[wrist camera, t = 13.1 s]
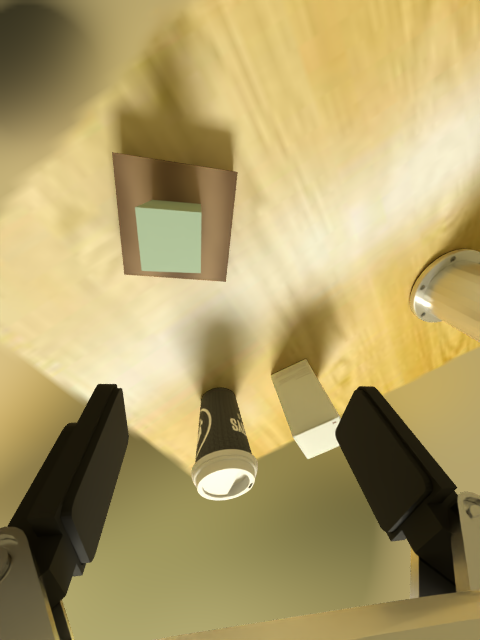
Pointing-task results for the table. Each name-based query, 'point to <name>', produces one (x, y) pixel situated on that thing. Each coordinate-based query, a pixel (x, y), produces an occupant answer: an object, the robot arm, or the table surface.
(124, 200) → the block
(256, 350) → the table surface
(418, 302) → the robot arm
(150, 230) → the sage block
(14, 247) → the table surface
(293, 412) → the supplement box
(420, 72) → the table surface
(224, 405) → the coffee cup
